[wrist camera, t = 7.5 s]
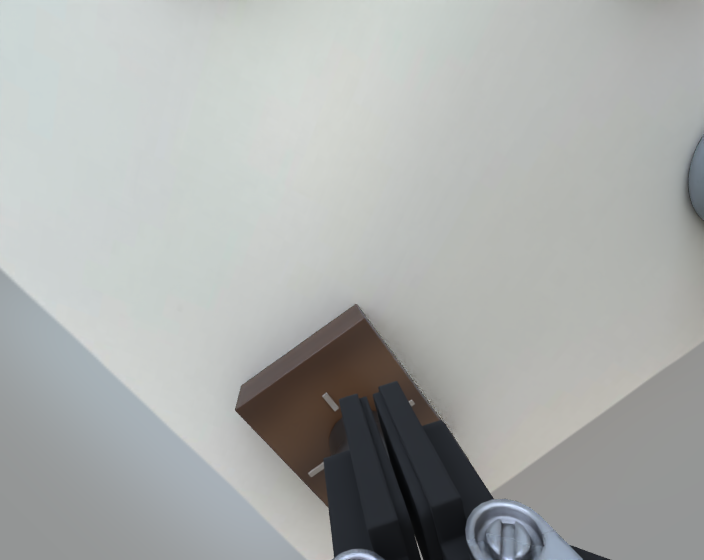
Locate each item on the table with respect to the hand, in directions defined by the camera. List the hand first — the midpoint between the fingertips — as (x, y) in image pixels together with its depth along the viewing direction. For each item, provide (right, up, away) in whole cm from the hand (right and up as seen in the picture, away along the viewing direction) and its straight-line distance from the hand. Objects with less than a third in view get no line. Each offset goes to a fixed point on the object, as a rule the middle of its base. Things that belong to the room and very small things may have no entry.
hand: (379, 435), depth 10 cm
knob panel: (-1, -6, +18) cm, 19 cm away
